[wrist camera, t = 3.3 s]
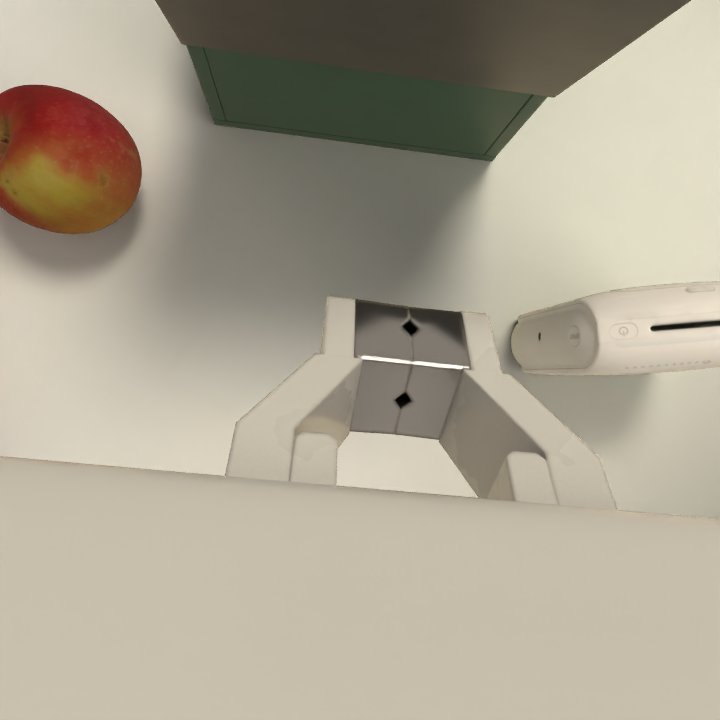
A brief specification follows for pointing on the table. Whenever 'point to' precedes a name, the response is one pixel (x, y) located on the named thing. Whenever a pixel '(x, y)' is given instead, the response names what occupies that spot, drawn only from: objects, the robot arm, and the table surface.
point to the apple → (64, 161)
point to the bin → (359, 104)
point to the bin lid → (429, 35)
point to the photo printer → (624, 332)
